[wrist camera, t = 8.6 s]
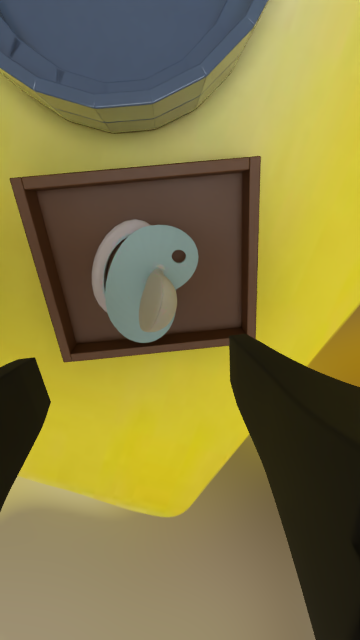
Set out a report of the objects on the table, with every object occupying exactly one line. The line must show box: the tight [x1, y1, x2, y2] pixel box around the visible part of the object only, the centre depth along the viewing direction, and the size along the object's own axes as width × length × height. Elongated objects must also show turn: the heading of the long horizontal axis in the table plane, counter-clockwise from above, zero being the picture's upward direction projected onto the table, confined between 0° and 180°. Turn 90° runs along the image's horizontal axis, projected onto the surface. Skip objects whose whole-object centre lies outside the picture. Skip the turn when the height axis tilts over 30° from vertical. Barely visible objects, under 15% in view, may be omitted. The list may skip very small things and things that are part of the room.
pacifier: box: [92, 219, 198, 343], centre depth 15 cm, size 7×6×6 cm
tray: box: [10, 156, 261, 362], centre depth 17 cm, size 13×11×2 cm
